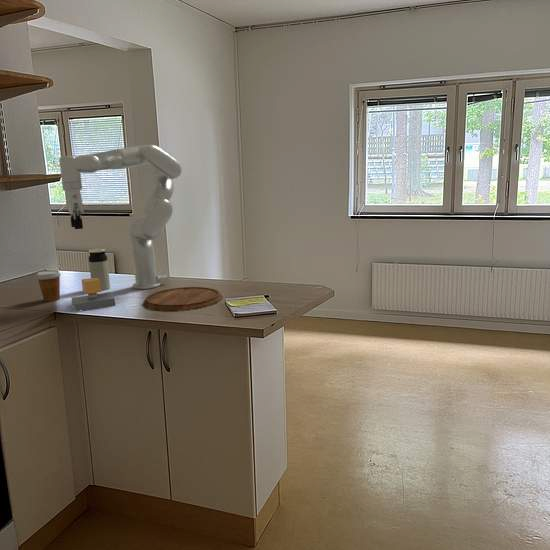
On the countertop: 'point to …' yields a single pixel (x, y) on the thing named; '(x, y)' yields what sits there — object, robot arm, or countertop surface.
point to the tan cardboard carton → (91, 285)
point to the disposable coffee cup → (49, 284)
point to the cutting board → (182, 298)
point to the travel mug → (99, 267)
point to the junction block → (93, 301)
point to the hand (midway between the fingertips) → (77, 227)
